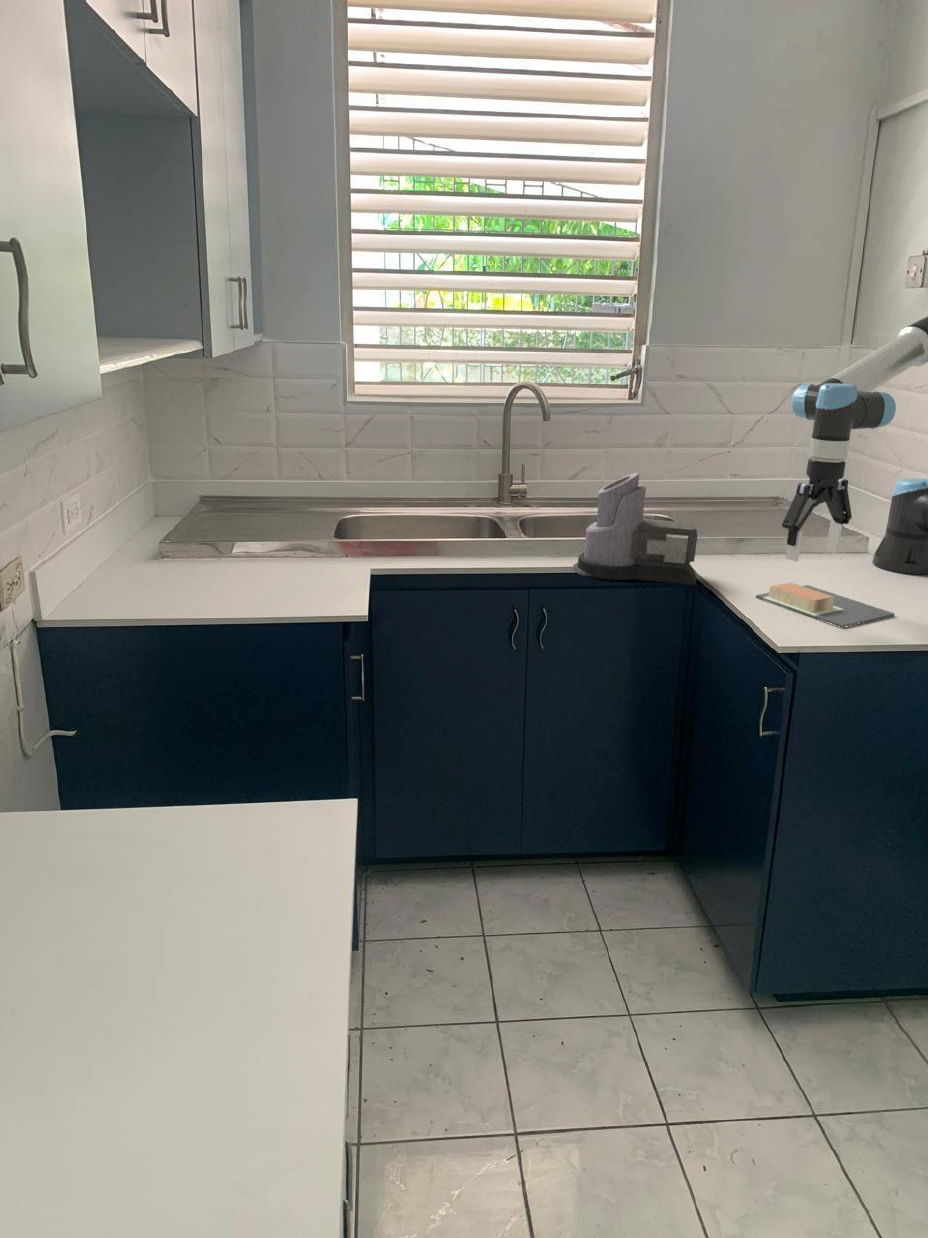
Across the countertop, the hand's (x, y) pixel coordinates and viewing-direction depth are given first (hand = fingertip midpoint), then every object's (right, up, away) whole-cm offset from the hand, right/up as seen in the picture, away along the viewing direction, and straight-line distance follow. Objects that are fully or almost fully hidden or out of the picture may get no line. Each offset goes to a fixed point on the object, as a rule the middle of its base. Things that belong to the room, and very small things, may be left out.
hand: (812, 555), depth 205 cm
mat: (+4, -11, +4) cm, 12 cm away
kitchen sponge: (-1, -9, +3) cm, 10 cm away
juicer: (-35, -3, +24) cm, 43 cm away
